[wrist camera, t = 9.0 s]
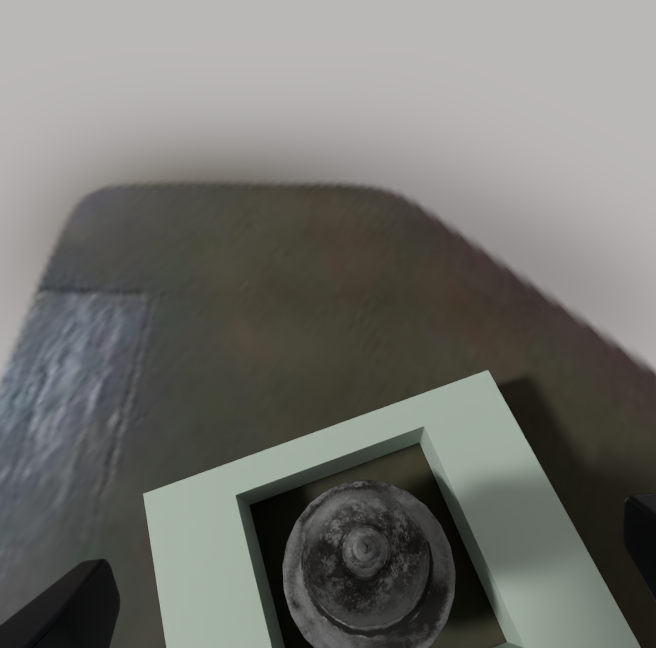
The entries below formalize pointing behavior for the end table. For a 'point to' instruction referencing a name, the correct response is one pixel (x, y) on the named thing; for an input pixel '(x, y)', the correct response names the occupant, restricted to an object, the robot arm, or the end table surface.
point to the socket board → (459, 494)
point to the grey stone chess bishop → (368, 569)
